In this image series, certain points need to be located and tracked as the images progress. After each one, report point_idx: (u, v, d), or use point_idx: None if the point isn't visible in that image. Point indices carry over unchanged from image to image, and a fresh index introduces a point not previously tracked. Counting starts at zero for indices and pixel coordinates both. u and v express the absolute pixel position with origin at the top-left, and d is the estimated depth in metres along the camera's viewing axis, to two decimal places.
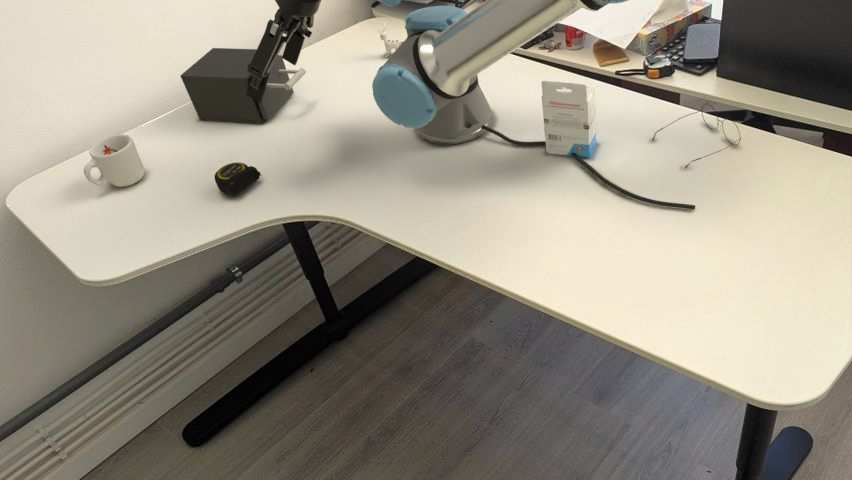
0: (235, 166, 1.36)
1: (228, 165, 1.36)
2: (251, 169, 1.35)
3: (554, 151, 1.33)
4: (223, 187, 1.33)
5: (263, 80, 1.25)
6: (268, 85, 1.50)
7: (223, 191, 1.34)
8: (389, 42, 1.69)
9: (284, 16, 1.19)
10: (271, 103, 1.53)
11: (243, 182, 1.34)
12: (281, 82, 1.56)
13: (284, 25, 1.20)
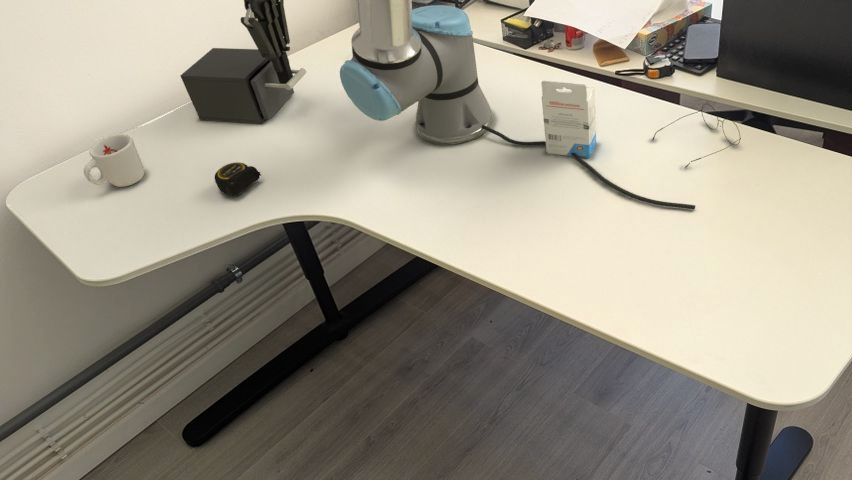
0: (235, 166, 1.36)
1: (228, 165, 1.36)
2: (251, 169, 1.35)
3: (554, 151, 1.33)
4: (223, 187, 1.33)
5: (282, 62, 1.48)
6: (268, 85, 1.50)
7: (223, 191, 1.34)
8: None
9: (248, 1, 1.37)
10: (272, 103, 1.53)
11: (243, 182, 1.34)
12: None
13: (254, 11, 1.38)
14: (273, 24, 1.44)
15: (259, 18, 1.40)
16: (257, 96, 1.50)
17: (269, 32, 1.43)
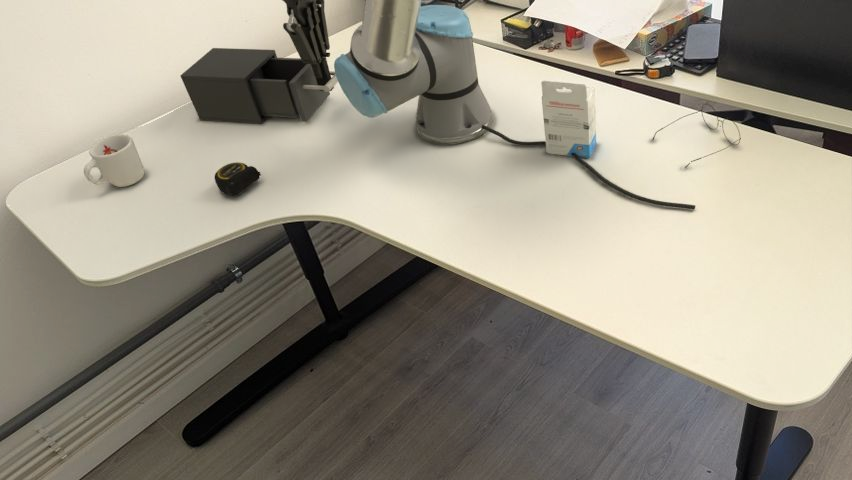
0: (235, 166, 1.36)
1: (228, 165, 1.36)
2: (251, 169, 1.35)
3: (554, 151, 1.33)
4: (223, 187, 1.33)
5: (322, 68, 1.46)
6: (307, 87, 1.48)
7: (223, 191, 1.34)
8: None
9: (291, 6, 1.35)
10: (309, 105, 1.51)
11: (243, 182, 1.34)
12: None
13: (296, 17, 1.36)
14: (314, 30, 1.42)
15: (301, 24, 1.39)
16: (295, 98, 1.47)
17: (310, 38, 1.41)
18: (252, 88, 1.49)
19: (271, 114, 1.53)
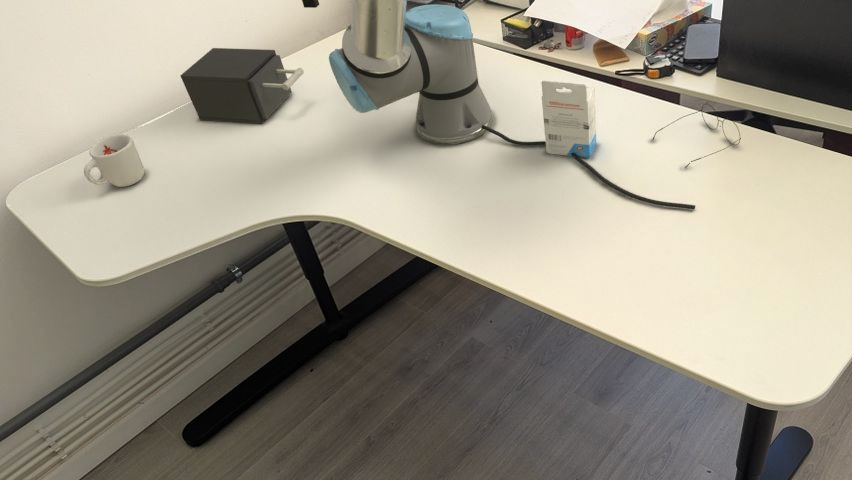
0: None
1: None
2: None
3: (554, 151, 1.33)
4: None
5: None
6: (266, 85, 1.50)
7: None
8: None
9: None
10: (269, 103, 1.54)
11: None
12: (279, 82, 1.56)
13: None
14: None
15: None
16: (254, 96, 1.50)
17: None
18: None
19: None
